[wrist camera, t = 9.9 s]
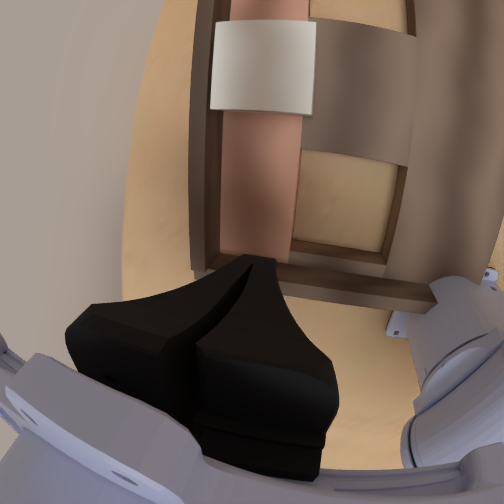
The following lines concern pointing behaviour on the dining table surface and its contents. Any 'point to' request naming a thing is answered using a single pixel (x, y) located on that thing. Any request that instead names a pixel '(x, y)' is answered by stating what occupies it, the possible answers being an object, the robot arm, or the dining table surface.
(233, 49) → the block
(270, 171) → the frame
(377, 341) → the dining table surface
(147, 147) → the dining table surface
